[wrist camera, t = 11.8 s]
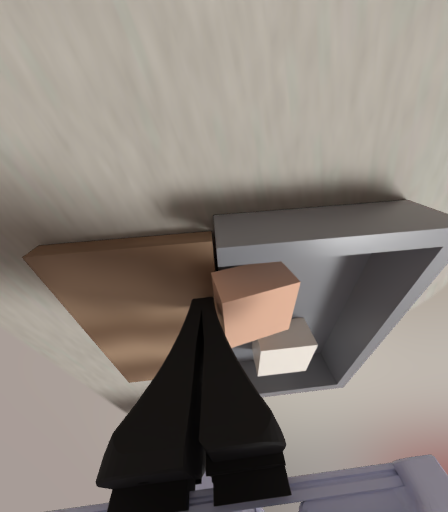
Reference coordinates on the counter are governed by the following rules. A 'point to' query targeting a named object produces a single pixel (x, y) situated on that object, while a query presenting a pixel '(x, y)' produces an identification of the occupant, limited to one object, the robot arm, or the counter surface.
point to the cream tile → (285, 350)
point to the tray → (338, 277)
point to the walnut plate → (129, 292)
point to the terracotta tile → (254, 300)
